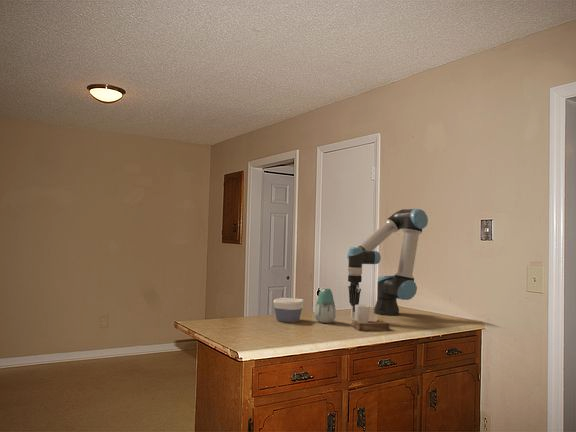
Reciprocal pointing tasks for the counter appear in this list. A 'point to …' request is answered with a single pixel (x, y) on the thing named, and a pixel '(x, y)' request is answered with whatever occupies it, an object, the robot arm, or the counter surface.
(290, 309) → the bowl
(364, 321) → the white cup
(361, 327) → the brown wooden tray
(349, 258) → the robot arm
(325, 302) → the vase
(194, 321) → the counter surface
